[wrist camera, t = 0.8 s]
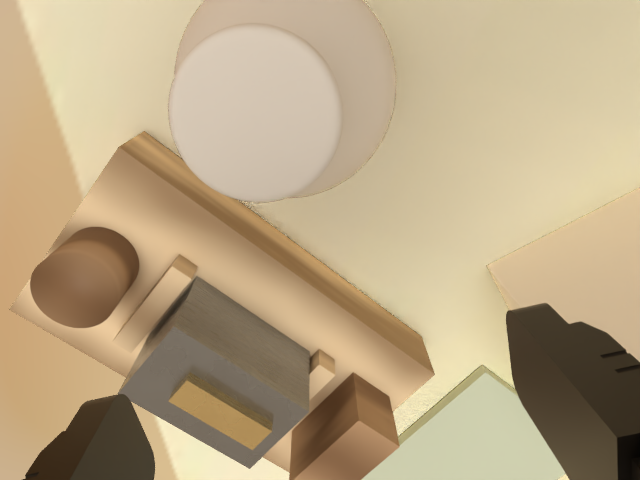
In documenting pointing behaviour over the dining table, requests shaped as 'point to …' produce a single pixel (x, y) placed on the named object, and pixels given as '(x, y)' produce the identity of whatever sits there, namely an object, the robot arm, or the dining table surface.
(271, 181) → the bath foam
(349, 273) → the dining table surface
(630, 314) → the milk
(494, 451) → the mat
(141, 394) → the lever cap
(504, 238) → the dining table surface
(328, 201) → the dining table surface
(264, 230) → the wooden peg board
